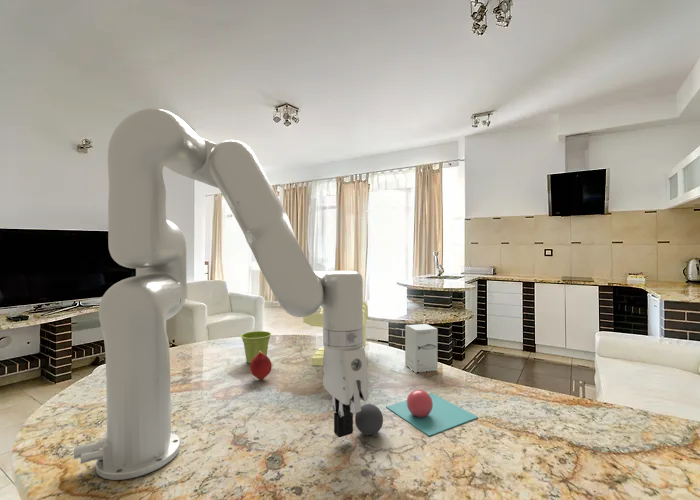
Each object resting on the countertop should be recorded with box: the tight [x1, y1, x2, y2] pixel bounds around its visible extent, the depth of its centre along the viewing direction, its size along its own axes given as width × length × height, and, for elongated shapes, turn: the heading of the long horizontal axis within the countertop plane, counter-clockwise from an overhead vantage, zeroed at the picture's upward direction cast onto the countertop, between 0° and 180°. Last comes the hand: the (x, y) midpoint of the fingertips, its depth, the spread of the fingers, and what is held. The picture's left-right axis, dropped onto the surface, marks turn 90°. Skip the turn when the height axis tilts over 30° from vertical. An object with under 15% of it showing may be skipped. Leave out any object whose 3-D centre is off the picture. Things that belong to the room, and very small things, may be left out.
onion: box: [249, 351, 273, 381], centre depth 95 cm, size 6×6×8 cm
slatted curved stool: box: [302, 299, 369, 367], centre depth 112 cm, size 30×16×18 cm, turn 172°
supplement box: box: [404, 323, 439, 374], centre depth 103 cm, size 7×7×13 cm
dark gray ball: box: [354, 403, 384, 436], centre depth 67 cm, size 6×6×6 cm
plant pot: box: [240, 330, 272, 364], centre depth 110 cm, size 9×9×9 cm
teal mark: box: [385, 392, 479, 437], centre depth 76 cm, size 14×14×1 cm
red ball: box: [406, 389, 433, 418], centre depth 74 cm, size 6×6×6 cm
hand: (343, 433), depth 65 cm, fingers closed
